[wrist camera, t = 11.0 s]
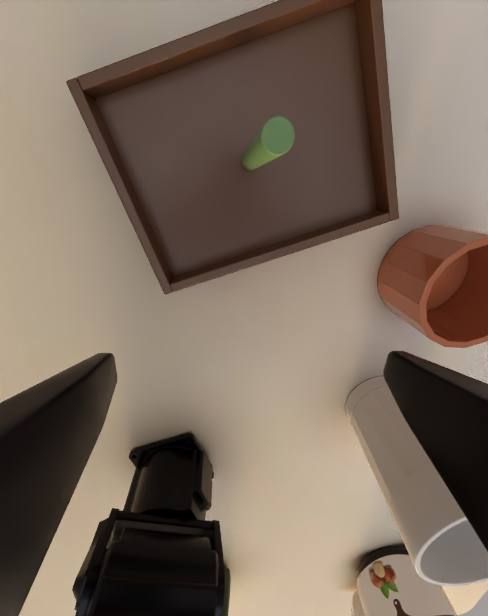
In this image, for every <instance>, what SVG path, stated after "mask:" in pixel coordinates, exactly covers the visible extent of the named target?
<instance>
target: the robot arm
mask: <svg viewBox="0 0 488 616" xmlns="http://www.w3.org/2000/svg"><path fill="white" fill-rule="evenodd" d="M384 379H385V381H386V383H387V385H388V387H389V389H390V391H391V393H392V395H393V397H394V399H395V401H396V403H397V405H398V407H399V409H400V411H401V413H402V415H403V417H404V419H405V421H406V422H407V424H408V426H409V427H410V429H411V430H412V432H413V434H414V435H415V437H416V438H417V440H418V442H419V443H420V445H421V446H422V448H423V450H424V451H425V453H426V454H427V456H428V458H429V459H430V461H431V462H432V464H433V466H434V467H435V469H436V470H437V472H438V473H439V475H440V477H441V478H442V480H443V481H444V483H445V485H446V486H447V488H448V489H449V491H450V493H451V494H452V496H453V497H454V499H455V501H456V502H457V504H458V505H459V507H460V509H461V510H462V512H463V513H464V515H465V517H466V518H467V520H468V521H469V523H470V525H471V526H472V528H473V529H474V531H475V533H476V534H477V536H478V537H479V539H480V541H481V542H482V544H483V545H484V547H485V549H486V550H487V552H488V384H486V383H484V382H481V381H479V380H476V379H474V378H471V377H468V376H466V375H463V374H461V373H458V372H456V371H453V370H450V369H448V368H445V367H443V366H440V365H438V364H435V363H432V362H430V361H427V360H425V359H422V358H420V357H417V356H414V355H412V354H409V353H407V352H404V351H391V352H390V353H389V354H388V357H387V361H386V365H385V368H384ZM116 383H117V371H116V365H115V358H114V356H113V354H112V353H98V354H96V355H94V356H92V357H90V358H88V359H86V360H84V361H82V362H80V363H78V364H76V365H74V366H72V367H70V368H68V369H66V370H65V371H63V372H61V373H59V374H57V375H55V376H53V377H51V378H49V379H47V380H45V381H43V382H41V383H39V384H37V385H35V386H33V387H31V388H29V389H27V390H25V391H23V392H21V393H19V394H17V395H15V396H13V397H11V398H9V399H7V400H5V401H3V402H1V403H0V616H18V615H19V613H20V611H21V609H22V607H23V604H24V602H25V600H26V598H27V595H28V593H29V591H30V589H31V586H32V584H33V582H34V580H35V577H36V575H37V573H38V571H39V569H40V566H41V564H42V562H43V560H44V557H45V555H46V553H47V551H48V548H49V546H50V544H51V542H52V539H53V537H54V535H55V533H56V531H57V528H58V526H59V524H60V522H61V519H62V517H63V515H64V513H65V510H66V508H67V506H68V504H69V502H70V499H71V497H72V495H73V493H74V490H75V488H76V486H77V484H78V481H79V479H80V477H81V475H82V472H83V470H84V468H85V466H86V464H87V461H88V459H89V457H90V455H91V452H92V450H93V448H94V446H95V443H96V441H97V439H98V437H99V434H100V432H101V430H102V427H103V424H104V421H105V418H106V415H107V412H108V409H109V406H110V403H111V399H112V396H113V393H114V390H115V387H116ZM129 458H130V460H131V461H132V462H133V464H134V465H135V467H136V470H135V473H134V476H133V480H132V483H131V486H130V490H129V493H128V496H127V500H126V503H125V506H124V509H123V511H119V509H114V508H112V510H111V513H110V516H109V518H107V519H105V520H104V521H101V522H99V525H98V528H97V531H96V533H95V536H94V539H93V542H92V544H91V547H90V549H89V551H88V554H87V556H86V558H85V560H84V562H83V564H82V567H81V569H80V571H79V573H78V575H77V577H76V580H75V583H74V586H73V589H72V590H73V593H74V596H75V598H76V601H77V602H76V606H75V610H77V612H76V615H75V616H222V611H223V603H224V593H225V570H224V560H223V551H222V542H221V533H220V524H219V521H216V520H212V521H205V515H206V510H209V509H210V507H211V499H212V479H213V478H214V472H213V470H212V465H211V463H210V461H209V459H208V457H207V455H206V454H205V452H204V451H203V450H202V449H201V448H200V446H199V444H198V443H197V441H196V439H195V437H194V435H193V434H190V433H188V434H184V435H181V436H177V437H174V438H171V439H167V440H164V441H160V442H157V443H154V444H150V445H147V446H144V447H140V448H137V449H133V450H131V451H130V454H129Z"/></svg>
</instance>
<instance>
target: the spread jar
mask: <svg viewBox="0 0 488 616" xmlns="http://www.w3.org/2000/svg"><path fill="white" fill-rule="evenodd" d="M357 588H358V589H357V590H356V591H355V593H354V595H353V598H352V607H351V613H352V616H457V615H456V612H455V610H454V608H453V607H452V605H451V603H450V601H449V599H448V597H447V595H446V594H445V592H444V590H443V588H442V586H441V585H436V584H432V583H430V582H427V581H425V580H424V579H422V578H421V577H420V576H419V575H418V573H417V572H416V570H415V567H414V565H413V563H412V560H411V558H410V556H409V553H408V551H407V549H404V548H401V547H385V548H381V549H378V550H376V551H374V552H372V553H370V554H369V555H368V556H366V557H365V558H364V560H363V561H362V563H361V565H360V567H359V570H358V574H357Z"/></svg>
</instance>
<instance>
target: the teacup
mask: <svg viewBox="0 0 488 616" xmlns="http://www.w3.org/2000/svg"><path fill="white" fill-rule="evenodd" d="M378 291H379V294H380V297H381V299H382V301H383V302H384V304H385V305H386V306H387V307H388V308H389V309H390V310H391V311H392V312H394V313H395V314H396V315H398V316H399V317H400V318H402V319H403V320H405V321H406V322H407V323H409V324H410V325H411V326H413V327H414V328H415V329H417V330H418V331H420V332H421V333H422V334H424V335H425V336H426V337H428V338H429V339H431V340H433V341H435V342H436V343H438V344H440V345H442V346H444V347H459V348H465V347H470V346H473V345H476V344H480V343H483V342H486V341H488V233H486V232H481V231H475V230H469V229H464V228H458V227H451V226H442V225H430V226H425V227H421V228H419V229H416V230H414V231H412V232H410V233H408V234H407V235H405V236H404V237H402V238H401V239H400V240H399V241H397V242H396V243H395V244H394V246H393V247H392V248H391V249H390V250H389V252H388V253H387V255H386V256H385V258H384V260H383V262H382V264H381V267H380V270H379V274H378Z"/></svg>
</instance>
